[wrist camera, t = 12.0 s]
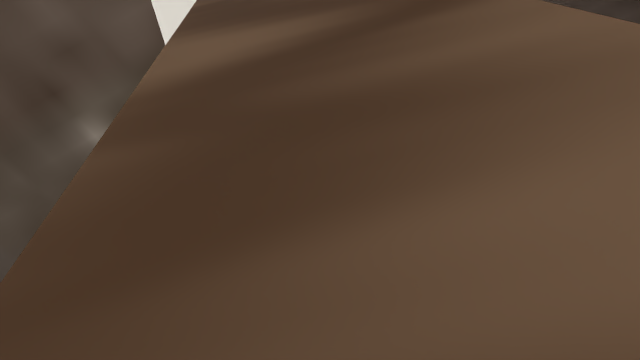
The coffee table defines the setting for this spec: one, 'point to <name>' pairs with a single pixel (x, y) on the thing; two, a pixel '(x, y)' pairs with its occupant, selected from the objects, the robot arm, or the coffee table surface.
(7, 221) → the coffee table surface
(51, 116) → the coffee table surface
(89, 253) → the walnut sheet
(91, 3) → the coffee table surface
